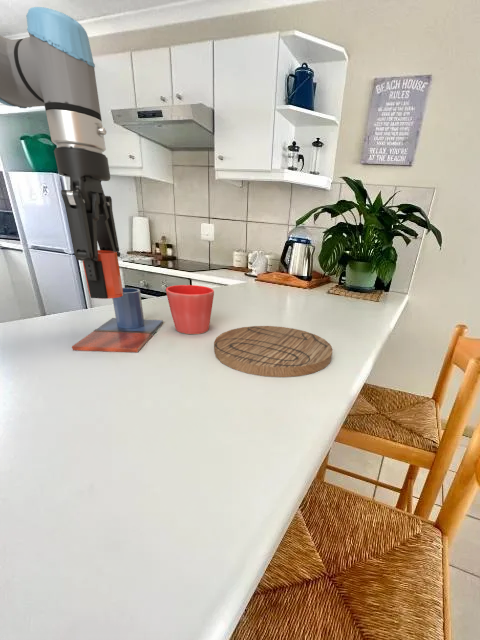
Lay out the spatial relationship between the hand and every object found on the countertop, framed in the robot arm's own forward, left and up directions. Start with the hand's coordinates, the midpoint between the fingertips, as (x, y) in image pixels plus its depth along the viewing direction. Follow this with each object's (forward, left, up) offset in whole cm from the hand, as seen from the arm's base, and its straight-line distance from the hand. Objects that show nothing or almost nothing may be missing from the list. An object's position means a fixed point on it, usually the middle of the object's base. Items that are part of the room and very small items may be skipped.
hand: (106, 294), depth 63 cm
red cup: (0, 0, 0) cm, 0 cm away
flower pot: (+14, +11, -10) cm, 20 cm away
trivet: (+33, -2, -10) cm, 35 cm away
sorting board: (0, +5, -10) cm, 11 cm away
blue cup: (0, +10, -9) cm, 13 cm away
